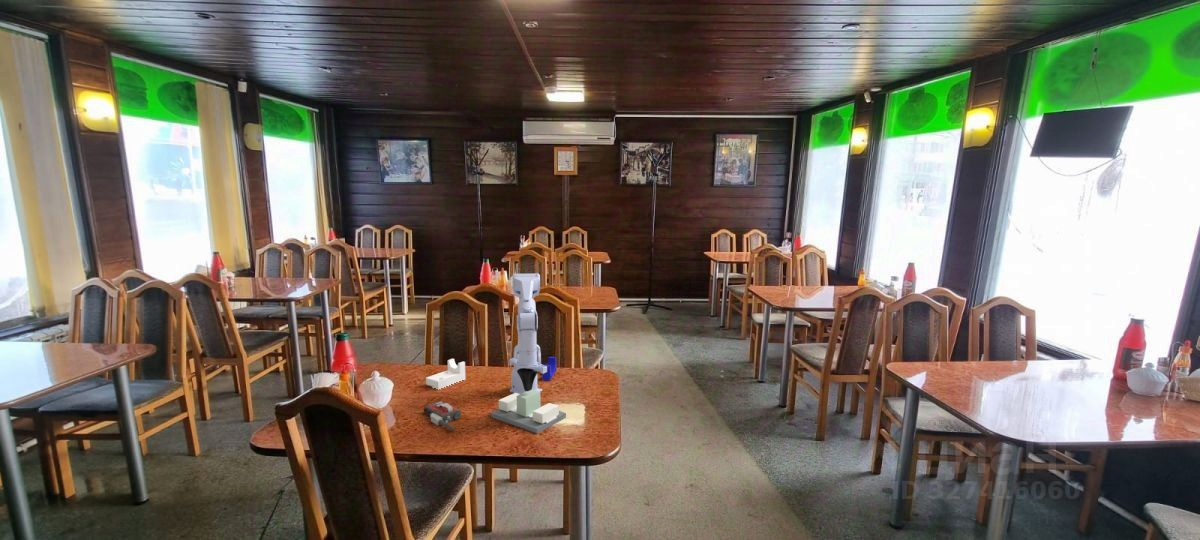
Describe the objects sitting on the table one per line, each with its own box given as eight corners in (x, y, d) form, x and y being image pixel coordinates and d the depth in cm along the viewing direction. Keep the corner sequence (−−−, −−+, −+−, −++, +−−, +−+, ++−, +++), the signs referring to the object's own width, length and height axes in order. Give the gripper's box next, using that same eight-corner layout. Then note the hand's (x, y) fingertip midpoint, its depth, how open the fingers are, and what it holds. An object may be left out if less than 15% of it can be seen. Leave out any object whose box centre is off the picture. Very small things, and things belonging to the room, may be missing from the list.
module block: (516, 413, 161) (516, 395, 160) (531, 406, 167) (531, 389, 166) (526, 416, 159) (525, 398, 158) (540, 409, 165) (540, 392, 164)
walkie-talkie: (417, 415, 165) (450, 434, 152) (416, 402, 164) (450, 420, 151) (441, 407, 171) (475, 425, 158) (440, 395, 171) (475, 411, 157)
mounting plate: (491, 417, 163) (490, 402, 162) (520, 403, 174) (520, 389, 174) (537, 433, 152) (537, 418, 151) (565, 417, 163) (565, 403, 163)
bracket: (453, 376, 200) (452, 358, 199) (465, 380, 197) (464, 361, 196) (426, 386, 190) (425, 367, 189) (438, 390, 186) (437, 371, 185)
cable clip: (545, 370, 208) (545, 356, 208) (556, 371, 208) (556, 357, 207) (538, 380, 197) (538, 366, 196) (550, 381, 196) (549, 366, 195)
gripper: (502, 348, 161) (503, 388, 163) (536, 356, 153) (536, 399, 154) (517, 343, 166) (518, 382, 168) (551, 351, 158) (551, 392, 160)
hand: (528, 390), depth 162 cm, fingers closed
